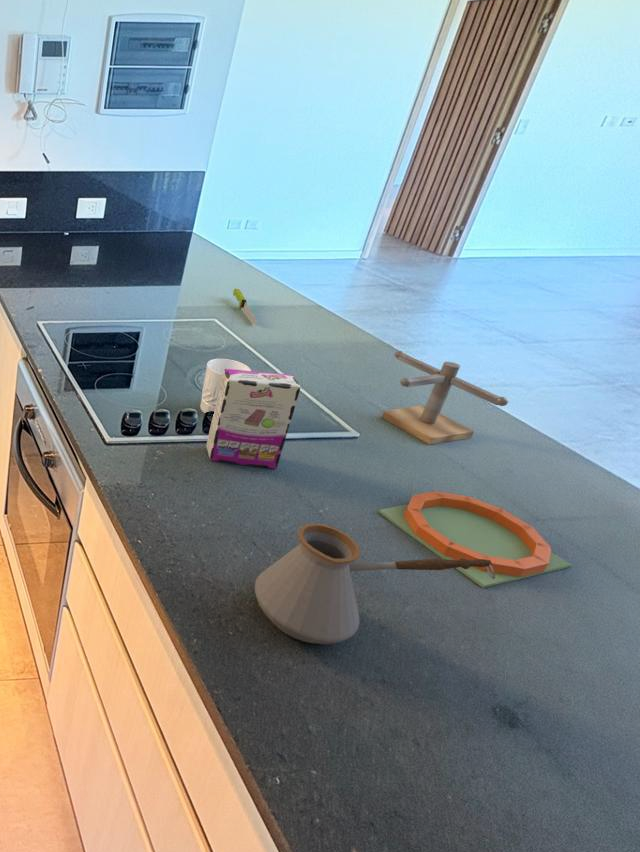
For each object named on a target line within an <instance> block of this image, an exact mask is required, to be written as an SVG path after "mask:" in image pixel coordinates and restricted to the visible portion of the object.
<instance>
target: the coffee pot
mask: <svg viewBox="0 0 640 852" xmlns="http://www.w3.org/2000/svg"><path fill="white" fill-rule="evenodd" d="M297 538H298V540H299V541H298V542H300V544H298V545H296V546H295V547H294V548H293V549H291V550H290V551H289V552H287V553H285V555H283V556H282V557H280V558H279V559H278V560H277V561H275V562H274V563H272V564H271V565H270V566H269V567H267V568H265V570H264V571H261V572H260V574H259V575H258V576H257V578H256V579H255V581H254V593H255V597H256V600H257V603H258V606H259V607H260V609H261V610H262V612H263V614H264V615H265V616H266V617H267V618H268V619H269V620H270V621H271V622H272V624H274V625H275V627H277V628H278V629H279V631H282V633H284V634H285V635H288V636H289V637H292V638H293V639H296V640H298V641H301V642H304V643H311V644H318V645H334V644H335V645H336V644H338V643H342V642H344V641H346V640H349V639H350V638H351V637H352V636H354V635H355V634H356V633H357V631H358V629H359V626H360V616H359V615H360V614H359V610H358V609H359V608H358V603H357V599H356V594H355V589H354V583H353V579H352V574H351V573H352V572H357V571H358V572H359V571H360V572H361V571H381V570H400V571H401V570H405V571H406V570H407V571H410V570H412V571H414V570H415V571H444V570H451V569H456V568H458V567H461V568H463V569H468V568H469V567H473V566H477V567H486V569H487V571H488V573H489V575H490V577H491V578H492V579H495V573H494V570H493V568H492V566H491V565H492V563H491V561H490V560H485V559H475V560H467V559H465V558H460V559H459V560H449V559H442V558H437V557H435V558H425V559H424V558H423V559H411V560H398V561H385V562H384V561H381V562H380V561H377V562H376V561H375V562H370V561H369V562H356V561H357V560H359V559H360V556H361V548H360V546H359V544H358V542H356V540H355V539H354V538H353V537H351V536H350V535H349V534H347V533H345V531H342V530H340V529H339V528H336V527H333V526H330V525H327V524H322V523H307V524H303V525H302V526H300V527H299V529H298V530H297ZM488 566H490V568H491V571H492V574H493V576H492V575H491V573H490V571H489V568H488Z"/></svg>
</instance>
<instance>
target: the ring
mask: <svg viewBox="0 0 640 852" xmlns="http://www.w3.org/2000/svg"><path fill="white" fill-rule="evenodd" d="M408 504H409V505H408V507H407V509H406V511H405V513H404V517H405V519H406V520H407V522H408V523H409V525H410V527H411V528H412V530H413V531H414V533H415V534H416V535H417V536H419V537H420V538H421V539H423V540H424V541H426V542H427V543H428V544H430V545H431V546H432V547H434V548H435V549H437V550H438V551H439V552H441V553H442V554H444V555H446V556H448V557H451V558H453V559H455V560H459V559H460V558H465V559H467V560H475V559H485V560H490V561H491V563H492V565H491V566H492V568H493V570H494V573H498V574H504V575H510V576H515V577H523V576H527V575H531V574H536V573H540V572H544V570H545V569H546V567H547V566H548V564H549V559H550V553H551V552H552V547H551V545H550V544H549V543H548V542H547V541H546V540H545V539H544V538H543V536H541V534H540V533H539V532H538V531H537V529H535V528H534V527H533V526H531V525H530V524H528V523H527V522H525V521H523V520H522V519H520V518H519V517H517V516H515V515H513V514H512V513H510V512H508V511H506V510H505V509H503V508H501V507H499V506H496V505H493V504H490V503H487V502H485V501H483V500H479V499H476V498H474V497H471V496H468V495H462V494H456V493H449V492H443V491H435V490H433V491H429V492H423V493H418V494H413V495H412V497H411V499H410V501H409V503H408ZM433 506H446V507H452V508H459V509H465V510H467V511H470V512H473V513H475V514H478V515H481V516H483V517H486V518H489V519H491V520H494V521H495V522H497V523H499V524H500V525H502V526H503V527H505V528H507V529H508V530H510V531H511V532H513V533H515V534H516V535H518V536H519V537H520V539H521V540H522V541H523V542H524V543H525V545H526V546H527V547H528V548H529V549H530V551H531V556H530V557H527V558H522V559H518V560H511V559H505V558H499V557H493V556H487V555H483V554H481V553H478V552H476V551H473V550H471V549H469V548H466V547H464V546H461V545H459V544H456V543H454V542H452V541H451V540H449V539H448V538H446V537H445V536H443V535H442V534H440V533H439V532H438V531H436V530H435V529H433V528H432V527H430V526H429V524H428V523H427V521H426V520H425V518H424V517H423V515H422V514H421V512H420V511H421V509H423V508H428V507H433ZM473 567H475V568H477V569H479V570H482V571H487V569H486V567H477V566H473ZM488 568H489V571H490V572H492V571H491V568H490V566H488ZM487 572H488V571H487Z"/></svg>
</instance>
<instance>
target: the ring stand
mask: <svg viewBox="0 0 640 852" xmlns="http://www.w3.org/2000/svg"><path fill="white" fill-rule="evenodd" d="M394 357H395V358H396V360H398V361H400V362H402V363H404V364H407V365H409V366H411V367H413V368H415V369H417V370H420V371H422V372H424V373H426V374H427V375H422V376H415V377H403V378H401V379H400V381H399V384H400V385H401V386H402V387H405V388H413V387H414V388H415V387H420V386H426V385H433V387H432V389H431V391H430V394H429V397H428V399H427V401H426V404H425V405H423V404H422V405H415V406H409V407H403V408H396V409H389V410H384V411H383V412H382V414H381V419H384V420H385V421H387V422H388V423H390V424H392V425H394V426H395V427H397V428H399V429H400V430H402V431H404V432H406V433H408V434H410V435H411V436H412V437H415V438H416V439H418V440H420V441H422V442H424V444H427V445H428V446H430V445H435V444H442V443H448V442H454V441H460V440H464V439H465V440H466V439H471V438H472V436H473V435H474V432H475V431H474V430H472V429H471V428H469V427H467V426H465V425H463V424H461V423H459V422H458V421H455V420H453V419H452V418H449V417H447V416H445V414H442V413H441V411H442V410H443V407H444V404H445V402H446V400H447V398H448V395H449V393H450V392H451V389H452V386H454V387H456V388H458V389H461V390H463V391H465V392H467V393H469V394H471V395H473V396H475V397H477V398H479V399H481V400H484V401H486V402H488V403H490V404H493V405H495V406H499V407H505V406H507V405H508V404H509V399H507V397H504V396H500V395H497V394H495V393H492V392H490V391H489V390H486V389H484V388H481V387H479V386H477V385H475V384H473V383H470V382H468V381H466V380H464V379H462V378H459V377H458V373H459V370H460V368H461V365H460V364H459V363H456V362H453V361H443V363H442V366H441V369H440V368H437V367H435V366H433V365H431V364H428V363H426V362H425V361H421V360H419V359H418V358H415V357H413V356H410V355H408V354H406V353H405V352H404V351H402V350H397V351H395V352H394Z"/></svg>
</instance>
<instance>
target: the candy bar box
mask: <svg viewBox="0 0 640 852" xmlns="http://www.w3.org/2000/svg"><path fill="white" fill-rule="evenodd" d="M301 388H302V387H301V385H300V383H299V382H298V381H297V379H296V378H295V376H294V374H287V373H278V372H277V373H276V372H267V371H256V370H255V371H254V370H251V371H244V370H233V369H224V370H223V374H222V379H221V384H220V388H219V392H218V396H217V401H216V405H215V409H214V414H213V417H211V418H212V419H211V423H210V428H209V431H208V436H207V440H206V446H205V448H206V451H207V454H208V458H209V461H211V462H217V463H218V462H219V463H227V464H233V465H243V466H249V467H251V466H252V467H258V468H259V467H261V468H266V469H278V466H279V462H280V460H281V456H282V453H283V450H284V447H285V442H286V438H287V436H288V432H289V428H290V425H291V422H292V418H293V415H294V413H295V412H294V411H295V408H296V406H297V401H298V399H299V395H300V391H301Z"/></svg>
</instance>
